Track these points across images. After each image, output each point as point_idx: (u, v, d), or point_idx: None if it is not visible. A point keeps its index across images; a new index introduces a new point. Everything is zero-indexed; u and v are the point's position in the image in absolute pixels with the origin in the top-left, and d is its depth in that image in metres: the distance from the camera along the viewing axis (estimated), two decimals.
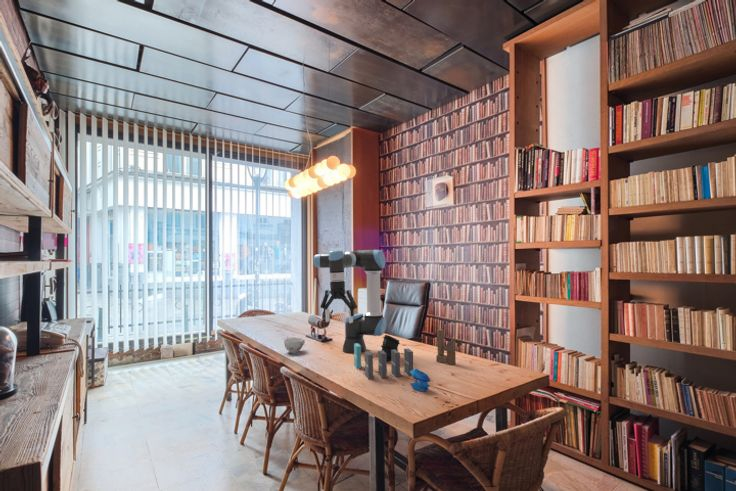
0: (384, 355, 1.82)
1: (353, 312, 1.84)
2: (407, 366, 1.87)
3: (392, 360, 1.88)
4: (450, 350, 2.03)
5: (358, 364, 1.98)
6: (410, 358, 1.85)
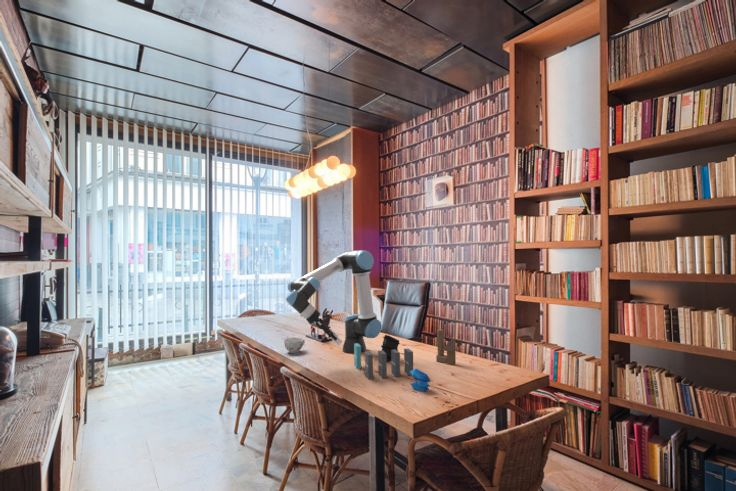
0: (384, 355, 1.82)
1: (334, 337, 1.90)
2: (407, 366, 1.87)
3: (392, 360, 1.88)
4: (450, 350, 2.03)
5: (358, 364, 1.98)
6: (410, 358, 1.85)
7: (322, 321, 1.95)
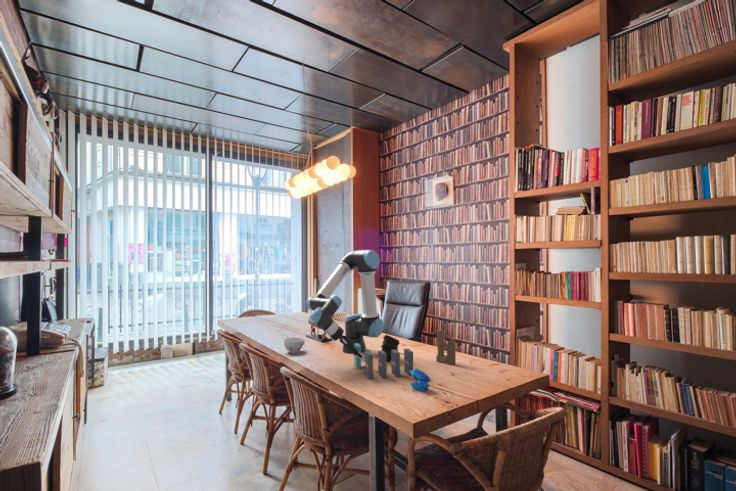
0: (384, 355, 1.82)
1: (359, 355, 1.96)
2: (407, 366, 1.87)
3: (392, 360, 1.88)
4: (450, 350, 2.03)
5: (358, 364, 1.98)
6: (410, 358, 1.85)
7: (346, 338, 1.98)
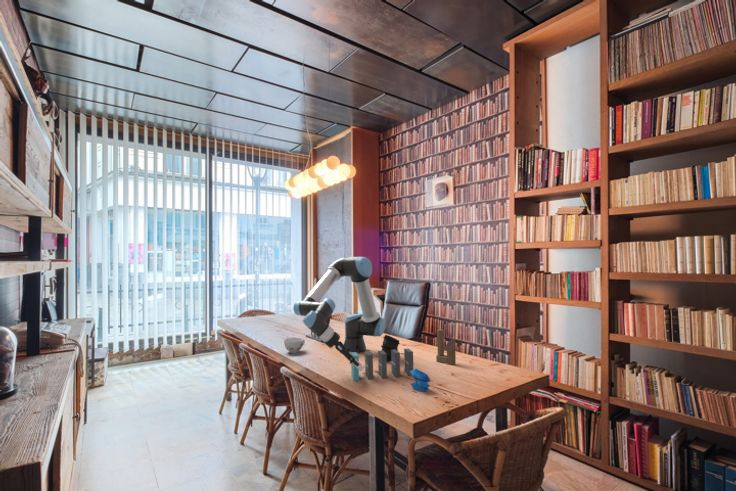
0: (384, 355, 1.82)
1: (356, 363, 1.74)
2: (407, 366, 1.87)
3: (392, 360, 1.88)
4: (450, 350, 2.03)
5: (356, 375, 1.78)
6: (410, 358, 1.85)
7: (342, 345, 1.78)
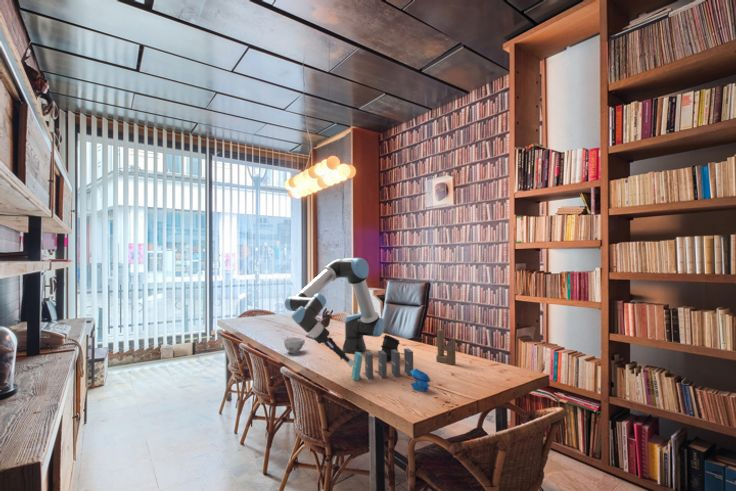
0: (384, 355, 1.82)
1: (346, 358, 1.79)
2: (407, 366, 1.87)
3: (392, 360, 1.88)
4: (450, 350, 2.03)
5: (356, 375, 1.78)
6: (410, 358, 1.85)
7: (332, 341, 1.78)
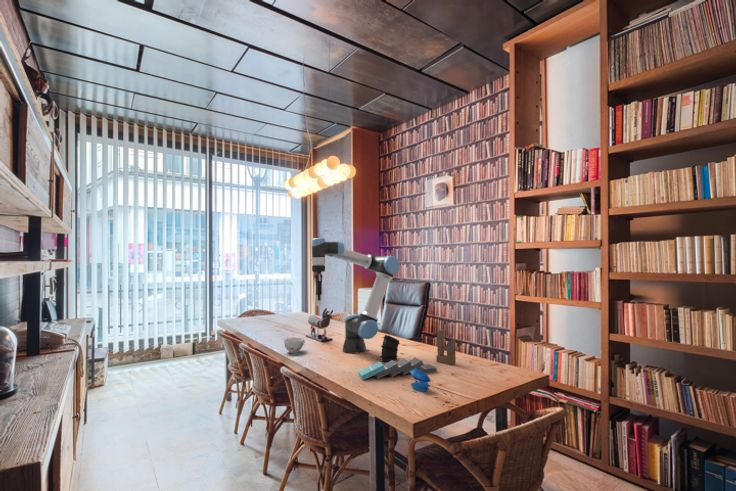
0: (409, 364, 1.87)
1: (319, 297, 2.09)
2: (420, 368, 1.90)
3: None
4: (450, 350, 2.03)
5: (366, 375, 1.79)
6: (430, 370, 1.89)
7: None
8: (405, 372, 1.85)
